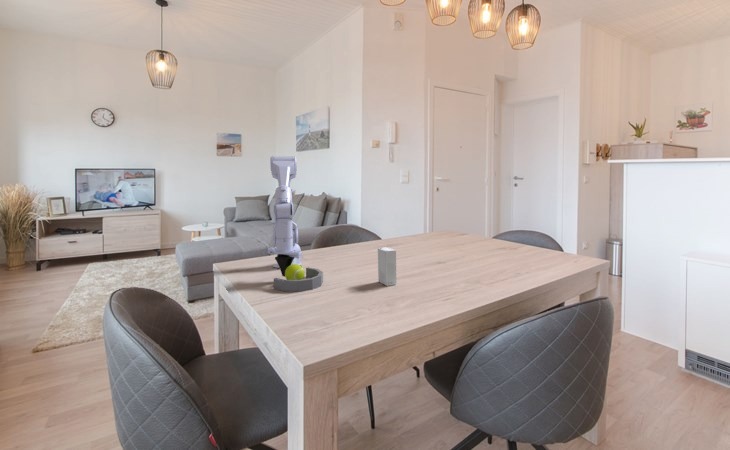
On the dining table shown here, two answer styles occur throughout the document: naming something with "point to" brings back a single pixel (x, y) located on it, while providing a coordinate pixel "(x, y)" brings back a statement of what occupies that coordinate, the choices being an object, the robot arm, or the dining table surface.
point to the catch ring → (301, 282)
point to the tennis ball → (294, 272)
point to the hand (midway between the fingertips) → (285, 275)
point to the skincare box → (387, 266)
